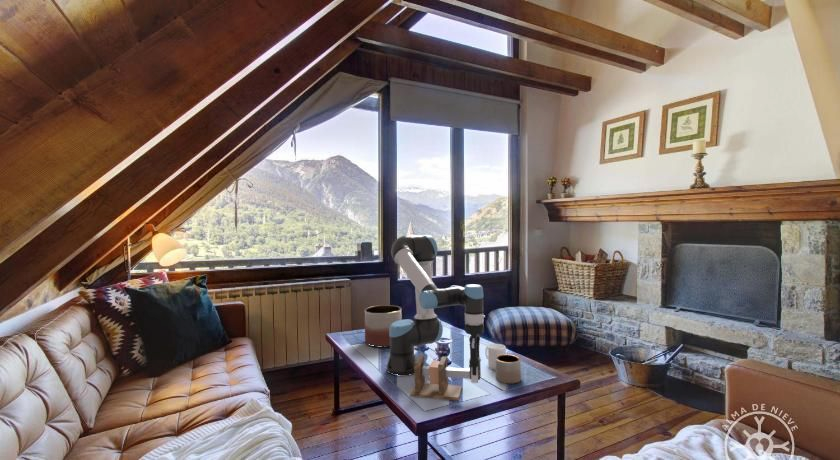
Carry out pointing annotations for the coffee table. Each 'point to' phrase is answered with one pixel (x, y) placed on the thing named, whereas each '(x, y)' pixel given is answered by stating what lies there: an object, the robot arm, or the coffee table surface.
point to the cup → (494, 354)
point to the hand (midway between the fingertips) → (475, 379)
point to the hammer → (456, 371)
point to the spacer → (434, 372)
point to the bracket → (434, 390)
